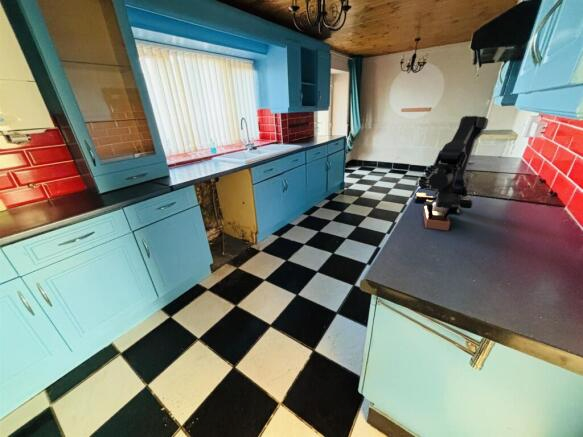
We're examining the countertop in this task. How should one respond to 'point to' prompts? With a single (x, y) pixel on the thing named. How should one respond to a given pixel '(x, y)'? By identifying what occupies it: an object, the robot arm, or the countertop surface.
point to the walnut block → (438, 216)
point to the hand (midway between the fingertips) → (436, 220)
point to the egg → (437, 208)
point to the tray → (435, 221)
